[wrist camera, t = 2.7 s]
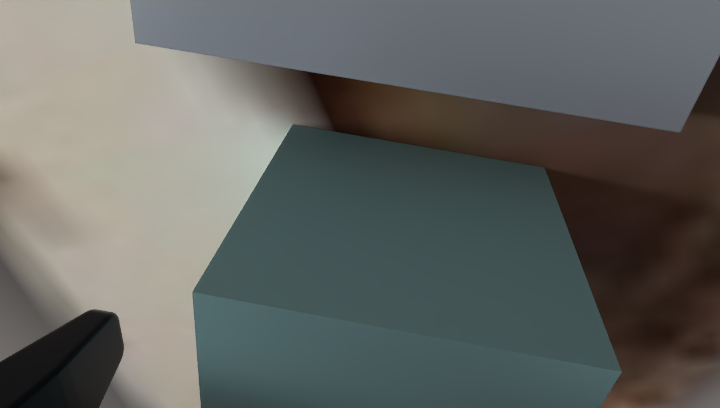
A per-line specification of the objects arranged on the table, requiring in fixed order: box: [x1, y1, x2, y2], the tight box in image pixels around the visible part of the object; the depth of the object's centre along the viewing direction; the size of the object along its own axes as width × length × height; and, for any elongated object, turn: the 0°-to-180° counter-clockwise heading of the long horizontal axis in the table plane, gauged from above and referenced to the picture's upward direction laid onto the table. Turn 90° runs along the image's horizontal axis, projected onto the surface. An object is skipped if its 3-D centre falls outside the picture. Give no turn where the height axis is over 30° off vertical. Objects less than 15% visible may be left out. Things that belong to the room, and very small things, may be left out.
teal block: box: [192, 125, 622, 408], centre depth 9 cm, size 5×5×5 cm
